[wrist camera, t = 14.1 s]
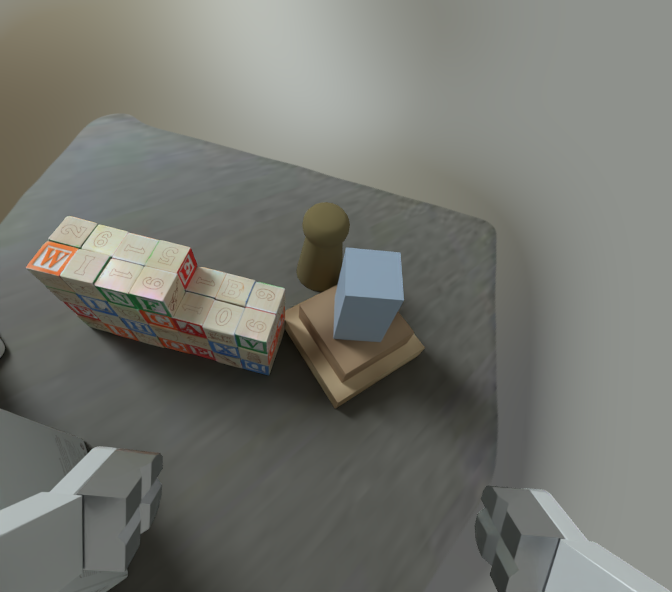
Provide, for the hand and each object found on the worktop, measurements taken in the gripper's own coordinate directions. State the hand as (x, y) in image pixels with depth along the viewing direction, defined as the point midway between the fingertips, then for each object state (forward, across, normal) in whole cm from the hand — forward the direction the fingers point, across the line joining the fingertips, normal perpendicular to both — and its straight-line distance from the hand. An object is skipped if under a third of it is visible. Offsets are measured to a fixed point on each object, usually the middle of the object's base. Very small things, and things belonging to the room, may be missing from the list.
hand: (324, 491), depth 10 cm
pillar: (+31, +4, -4) cm, 31 cm away
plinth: (+35, +4, -8) cm, 36 cm away
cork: (+42, -1, -1) cm, 42 cm away
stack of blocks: (+35, -15, -8) cm, 39 cm away
